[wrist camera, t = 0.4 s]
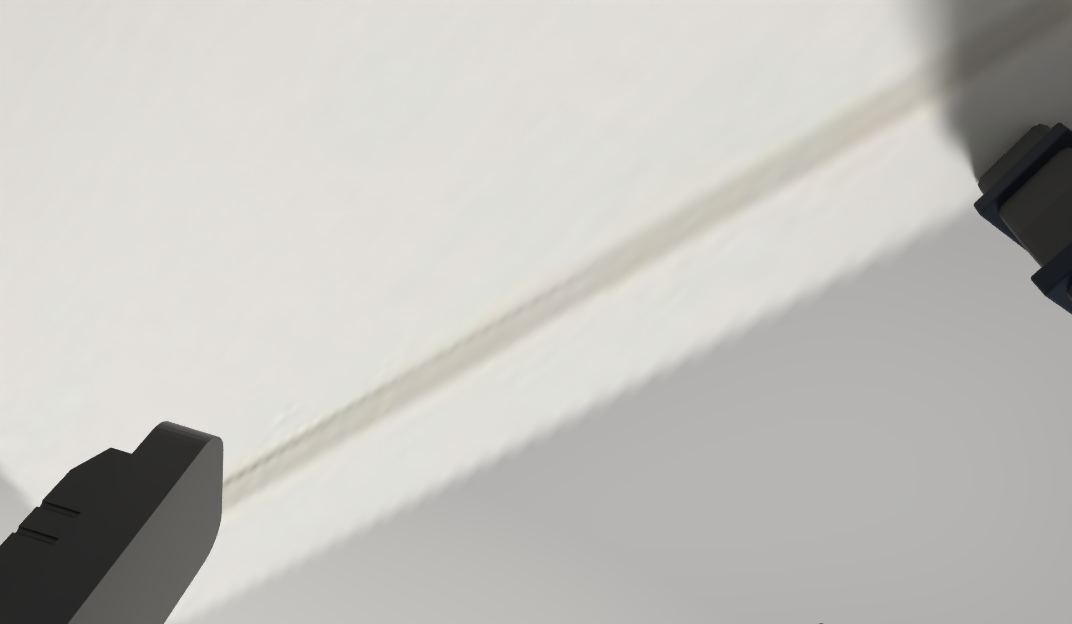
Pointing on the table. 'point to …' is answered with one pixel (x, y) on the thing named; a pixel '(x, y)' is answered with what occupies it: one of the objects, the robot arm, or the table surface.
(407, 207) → the table surface
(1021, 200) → the magazine
